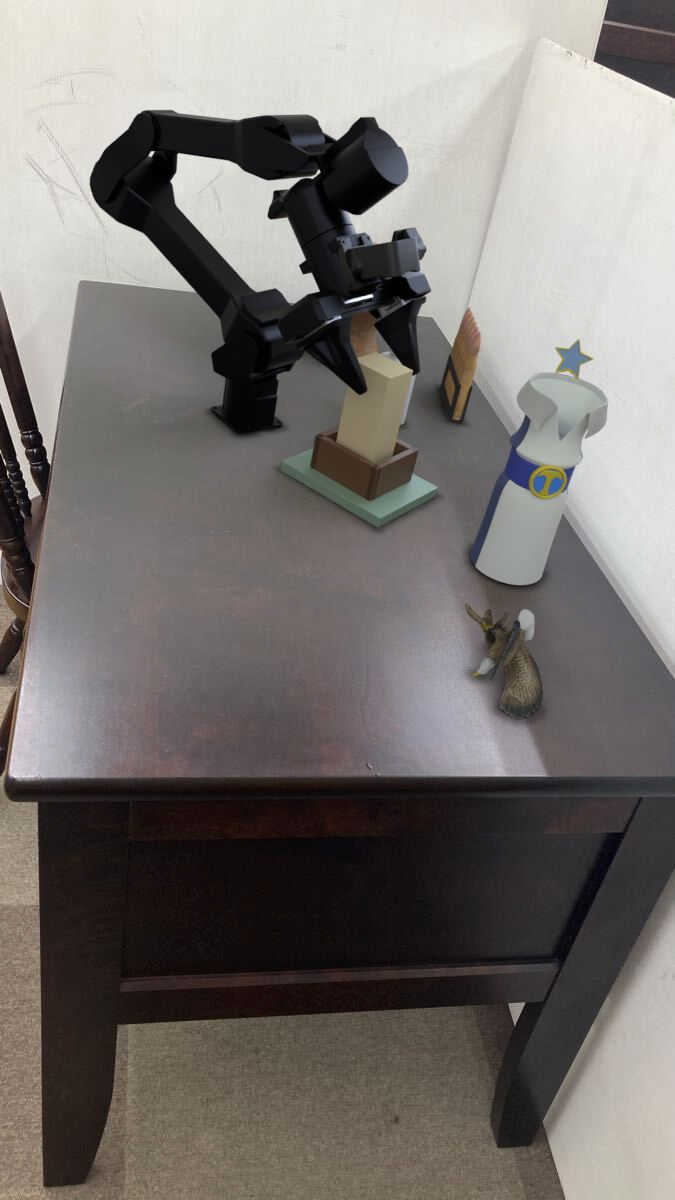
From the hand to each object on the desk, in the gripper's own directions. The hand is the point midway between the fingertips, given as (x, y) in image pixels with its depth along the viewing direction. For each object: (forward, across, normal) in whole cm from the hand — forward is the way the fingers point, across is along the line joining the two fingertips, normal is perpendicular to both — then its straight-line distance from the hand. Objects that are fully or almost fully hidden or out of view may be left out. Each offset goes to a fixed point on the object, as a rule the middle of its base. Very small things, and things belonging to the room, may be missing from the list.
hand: (390, 383), depth 92 cm
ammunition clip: (+4, +28, +14) cm, 32 cm away
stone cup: (-10, +30, +28) cm, 42 cm away
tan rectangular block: (+7, 0, +9) cm, 11 cm away
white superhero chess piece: (+22, +1, -4) cm, 22 cm away
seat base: (+8, 0, +10) cm, 13 cm away
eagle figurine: (+28, -16, -10) cm, 34 cm away
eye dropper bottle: (+2, +16, +16) cm, 23 cm away
